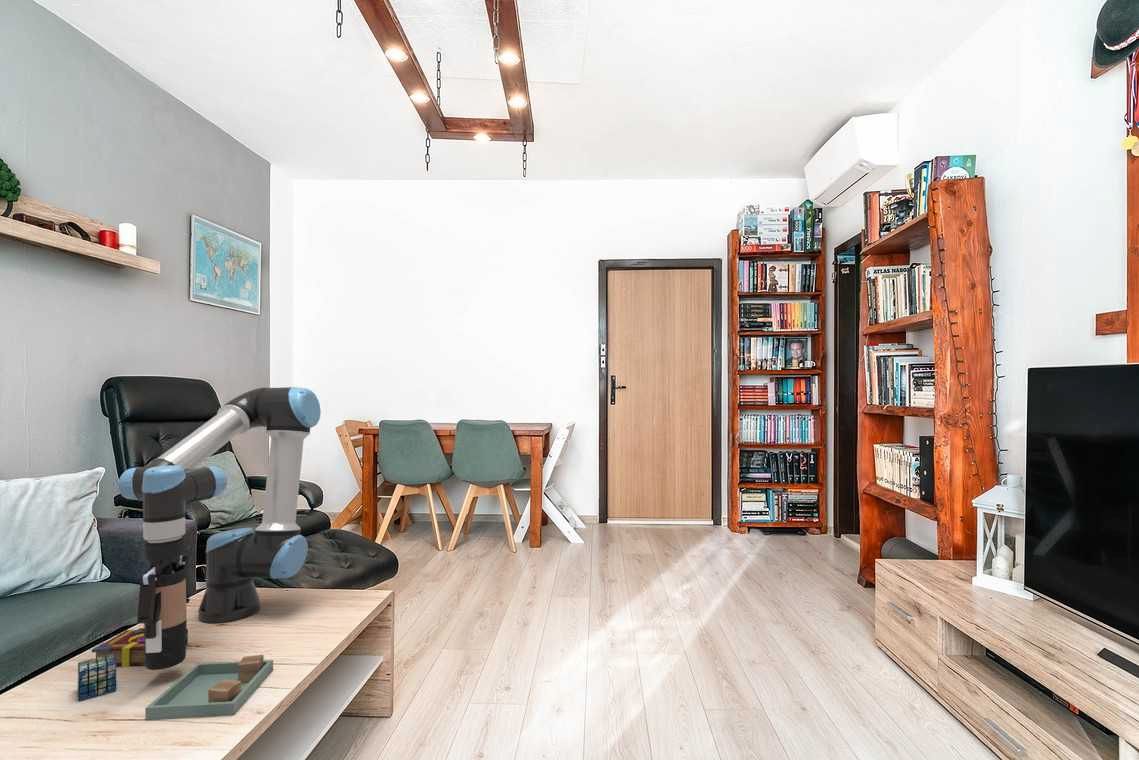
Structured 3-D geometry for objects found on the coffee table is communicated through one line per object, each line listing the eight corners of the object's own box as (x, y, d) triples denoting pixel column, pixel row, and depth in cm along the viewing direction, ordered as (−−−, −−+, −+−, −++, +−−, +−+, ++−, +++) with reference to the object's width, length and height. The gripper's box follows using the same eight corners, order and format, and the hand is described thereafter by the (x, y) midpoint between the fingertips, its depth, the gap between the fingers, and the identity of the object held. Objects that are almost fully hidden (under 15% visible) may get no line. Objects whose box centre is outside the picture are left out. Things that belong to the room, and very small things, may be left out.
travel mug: (165, 672, 121) (164, 577, 120) (134, 669, 122) (133, 575, 122) (195, 655, 128) (194, 565, 128) (166, 651, 130) (165, 563, 129)
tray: (197, 676, 127) (197, 663, 127) (273, 673, 128) (273, 659, 128) (145, 723, 109) (145, 707, 109) (233, 719, 110) (234, 703, 111)
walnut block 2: (243, 675, 126) (243, 656, 126) (263, 672, 127) (263, 654, 127) (238, 684, 122) (238, 665, 122) (258, 681, 123) (258, 662, 123)
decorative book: (126, 647, 142) (126, 626, 142) (193, 645, 143) (194, 625, 143) (90, 669, 131) (91, 647, 131) (164, 667, 132) (164, 645, 132)
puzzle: (116, 691, 121) (116, 662, 121) (78, 702, 117) (78, 672, 117) (113, 680, 125) (114, 653, 126) (77, 690, 121) (78, 662, 122)
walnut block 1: (223, 699, 116) (223, 679, 116) (241, 701, 115) (241, 681, 115) (208, 710, 112) (208, 689, 112) (226, 712, 111) (226, 691, 111)
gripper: (174, 526, 135) (175, 623, 135) (113, 553, 114) (114, 667, 115) (207, 525, 135) (208, 621, 136) (153, 551, 115) (154, 665, 115)
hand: (165, 642), depth 125 cm, fingers closed on travel mug, 8 cm apart
